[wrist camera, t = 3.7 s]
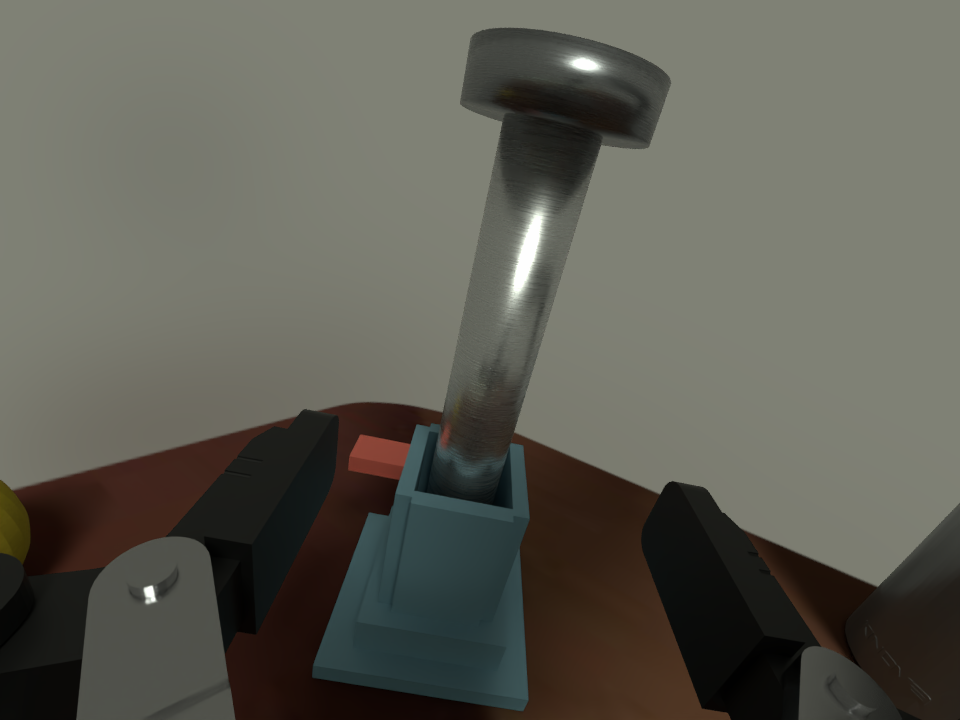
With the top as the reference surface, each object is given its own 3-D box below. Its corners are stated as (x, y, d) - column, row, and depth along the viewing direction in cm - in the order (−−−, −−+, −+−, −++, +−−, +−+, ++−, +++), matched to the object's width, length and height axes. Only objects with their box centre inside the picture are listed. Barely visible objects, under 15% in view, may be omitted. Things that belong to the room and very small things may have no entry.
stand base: (515, 550, 28) (558, 430, 23) (523, 711, 20) (591, 572, 15) (364, 523, 27) (380, 394, 23) (307, 676, 19) (316, 523, 15)
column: (489, 552, 26) (634, 103, 15) (487, 655, 20) (709, 70, 10) (394, 534, 25) (475, 64, 15) (367, 635, 20) (463, 6, 9)
